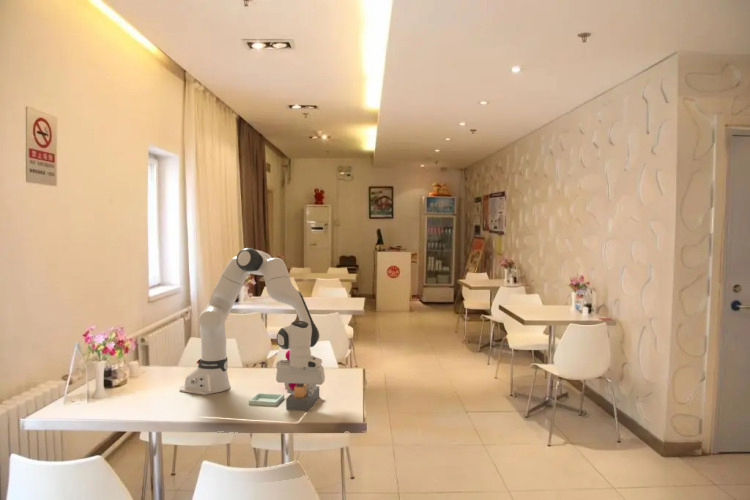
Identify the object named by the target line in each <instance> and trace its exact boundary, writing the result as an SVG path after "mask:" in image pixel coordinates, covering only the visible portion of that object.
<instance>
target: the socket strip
mask: <svg viewBox="0 0 750 500" xmlns="http://www.w3.org/2000/svg"><path fill="white" fill-rule="evenodd" d="M312 388H313V387H312ZM319 399H320V385H316V387H315V388H314V394H313V395H309V391H307V396H306V397H305V398H300V397H294V390H292V393H289V395H288V396H287V397H286V398H285V402H286V403H285V410H288V411H289V410H290V411H304V412H305V413H308V412H309V411H310V410H311V409H312V407H313V406H314V405H315V404H316V402H317V401H318V400H319Z"/></svg>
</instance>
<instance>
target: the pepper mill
mask: <svg viewBox="0 0 750 500" xmlns="http://www.w3.org/2000/svg"><path fill="white" fill-rule="evenodd" d="M285 360H290V350H289V349H288V350H286V352H285ZM288 385H289V387H290V388H292V391H294V387H295V386H296V385H297V383H289V384H288ZM285 390H287V389H286V387H285Z"/></svg>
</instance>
